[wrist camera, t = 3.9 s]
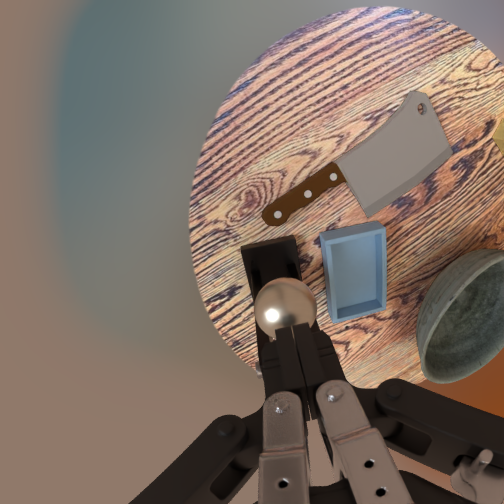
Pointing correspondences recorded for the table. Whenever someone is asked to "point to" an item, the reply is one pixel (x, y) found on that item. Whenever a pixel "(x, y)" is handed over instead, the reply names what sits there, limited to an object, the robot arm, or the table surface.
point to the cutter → (270, 275)
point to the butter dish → (355, 270)
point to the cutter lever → (284, 305)
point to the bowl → (462, 317)
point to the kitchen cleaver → (377, 163)
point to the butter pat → (500, 136)
